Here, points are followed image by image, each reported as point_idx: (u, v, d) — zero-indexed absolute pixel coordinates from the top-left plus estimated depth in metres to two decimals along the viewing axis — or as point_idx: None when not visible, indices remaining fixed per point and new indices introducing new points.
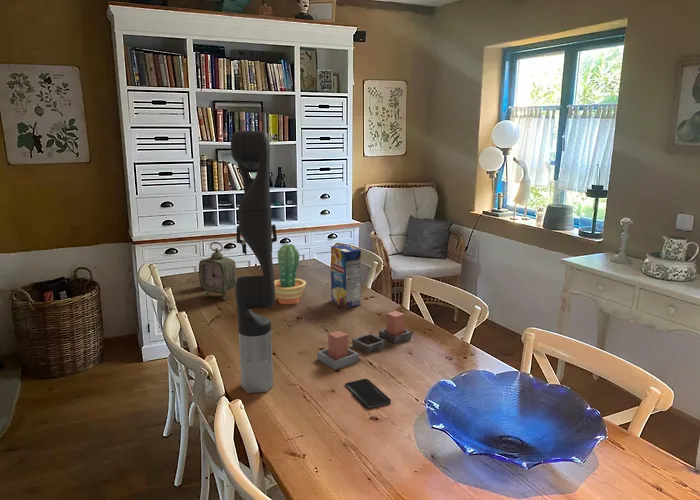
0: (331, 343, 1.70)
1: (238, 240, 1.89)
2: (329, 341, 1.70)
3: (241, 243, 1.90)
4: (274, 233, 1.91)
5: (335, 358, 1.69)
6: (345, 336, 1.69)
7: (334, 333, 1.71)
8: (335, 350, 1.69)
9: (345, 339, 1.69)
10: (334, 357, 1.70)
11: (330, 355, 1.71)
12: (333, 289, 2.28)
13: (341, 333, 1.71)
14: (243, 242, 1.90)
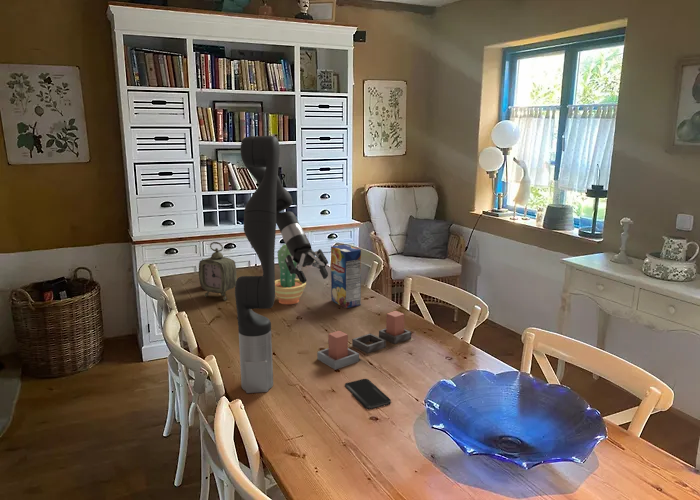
0: (331, 343, 1.70)
1: (293, 267, 1.73)
2: (329, 341, 1.70)
3: (297, 270, 1.73)
4: (323, 256, 1.81)
5: (335, 358, 1.69)
6: (345, 336, 1.69)
7: (334, 333, 1.71)
8: (335, 350, 1.69)
9: (345, 339, 1.69)
10: (334, 357, 1.70)
11: (330, 355, 1.71)
12: (333, 289, 2.28)
13: (341, 333, 1.71)
14: (299, 268, 1.73)
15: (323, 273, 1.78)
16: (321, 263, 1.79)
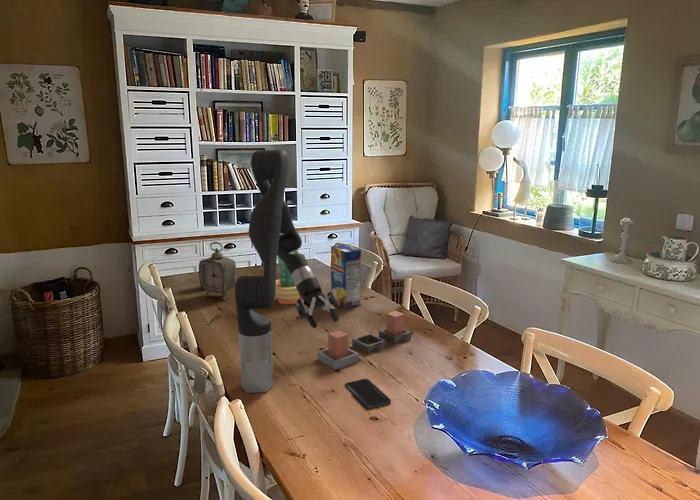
0: (331, 343, 1.70)
1: (304, 312, 1.72)
2: (329, 341, 1.70)
3: (307, 315, 1.72)
4: (333, 299, 1.80)
5: (335, 358, 1.69)
6: (345, 336, 1.69)
7: (334, 333, 1.71)
8: (335, 350, 1.69)
9: (345, 339, 1.69)
10: (334, 357, 1.70)
11: (330, 355, 1.71)
12: (333, 289, 2.28)
13: (341, 333, 1.71)
14: (309, 313, 1.72)
15: (334, 316, 1.77)
16: (331, 306, 1.78)
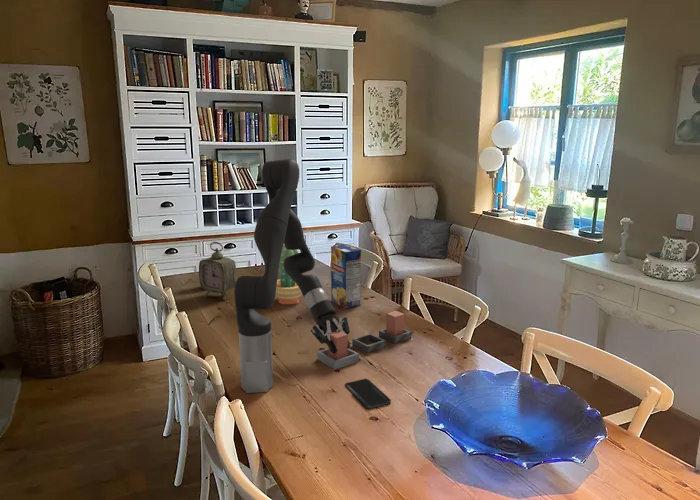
0: None
1: (324, 337, 1.68)
2: None
3: (327, 340, 1.68)
4: (346, 325, 1.75)
5: (335, 358, 1.69)
6: (345, 336, 1.69)
7: (334, 333, 1.71)
8: None
9: (345, 339, 1.69)
10: (334, 357, 1.70)
11: (330, 355, 1.71)
12: (333, 289, 2.28)
13: (341, 333, 1.71)
14: (329, 338, 1.69)
15: None
16: None
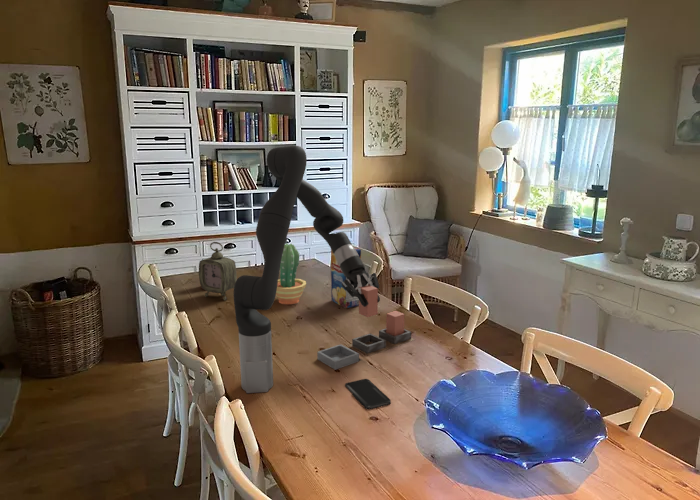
0: None
1: (355, 290, 1.73)
2: None
3: (358, 294, 1.73)
4: (375, 280, 1.80)
5: (366, 311, 1.74)
6: (375, 290, 1.74)
7: (364, 287, 1.76)
8: None
9: (375, 293, 1.75)
10: (364, 310, 1.75)
11: (360, 309, 1.76)
12: (333, 289, 2.28)
13: (371, 287, 1.76)
14: (360, 291, 1.74)
15: None
16: None
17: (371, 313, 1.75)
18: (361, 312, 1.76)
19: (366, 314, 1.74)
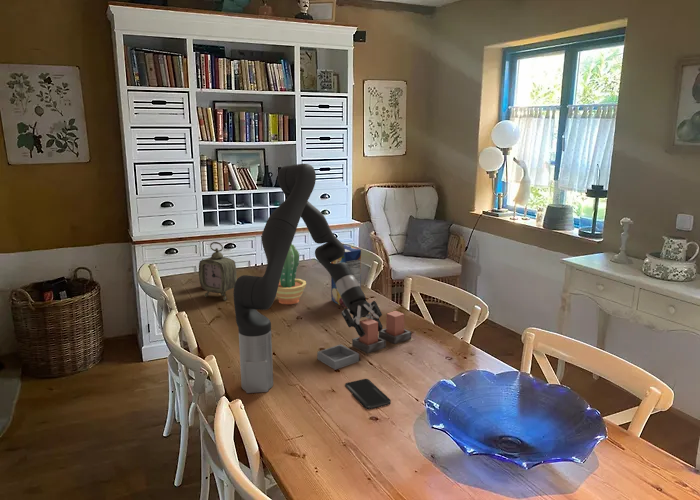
0: None
1: (352, 321, 1.75)
2: None
3: (355, 324, 1.75)
4: (377, 308, 1.83)
5: (366, 344, 1.77)
6: (376, 323, 1.77)
7: (365, 321, 1.78)
8: (366, 337, 1.76)
9: (376, 326, 1.77)
10: (365, 343, 1.77)
11: None
12: (333, 289, 2.28)
13: (372, 321, 1.78)
14: (357, 322, 1.75)
15: (378, 326, 1.80)
16: (375, 316, 1.81)
17: None
18: None
19: None
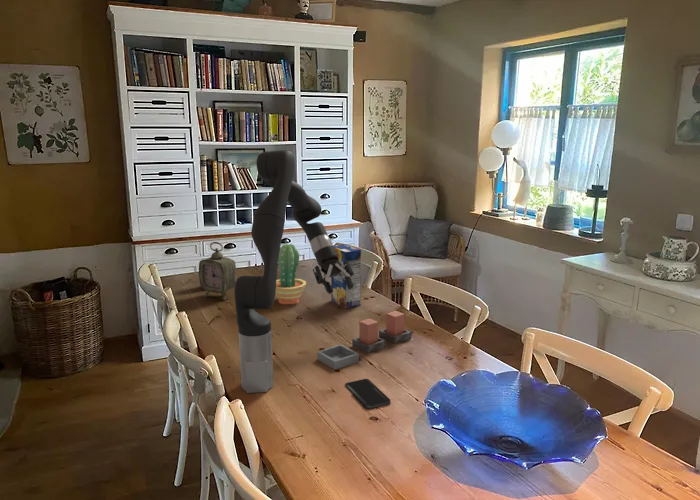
0: (362, 330, 1.77)
1: (321, 278, 1.81)
2: (360, 328, 1.78)
3: (324, 281, 1.81)
4: (349, 267, 1.89)
5: (366, 344, 1.77)
6: (376, 323, 1.77)
7: (365, 321, 1.78)
8: (366, 337, 1.76)
9: (376, 326, 1.77)
10: (365, 343, 1.77)
11: None
12: (333, 289, 2.28)
13: (372, 321, 1.78)
14: (326, 279, 1.82)
15: (348, 284, 1.86)
16: (347, 274, 1.87)
17: None
18: None
19: None
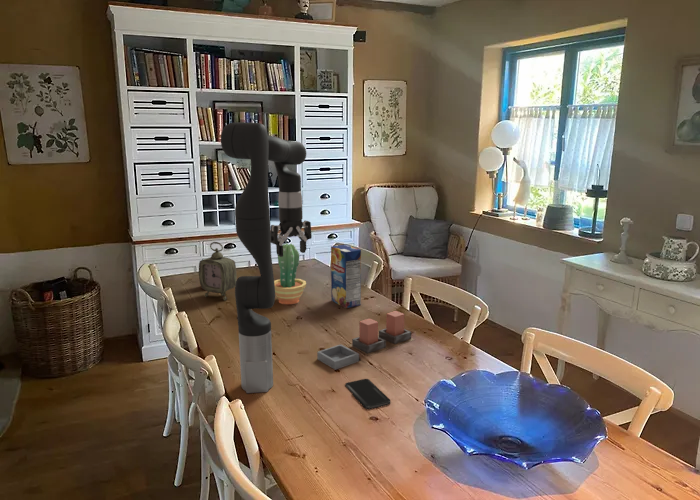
0: (362, 330, 1.77)
1: (276, 241, 1.68)
2: (360, 328, 1.78)
3: (278, 244, 1.70)
4: (309, 230, 1.76)
5: (366, 344, 1.77)
6: (376, 323, 1.77)
7: (365, 321, 1.78)
8: (366, 337, 1.76)
9: (376, 326, 1.77)
10: (365, 343, 1.77)
11: None
12: (333, 289, 2.28)
13: (372, 321, 1.78)
14: (280, 243, 1.70)
15: (302, 248, 1.76)
16: (304, 238, 1.75)
17: None
18: None
19: None
